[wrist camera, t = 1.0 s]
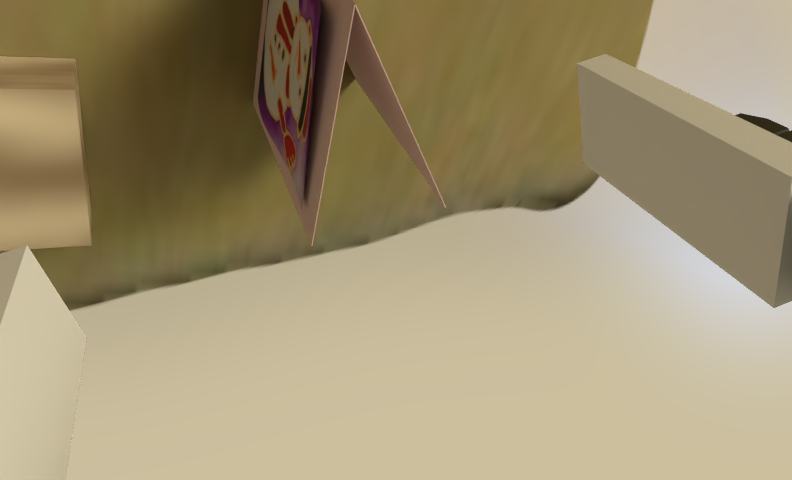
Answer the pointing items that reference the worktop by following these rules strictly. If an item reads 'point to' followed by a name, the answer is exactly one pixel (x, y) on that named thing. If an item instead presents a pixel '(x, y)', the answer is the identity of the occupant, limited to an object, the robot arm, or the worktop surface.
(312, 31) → the greeting card
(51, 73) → the tan block
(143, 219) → the worktop surface
